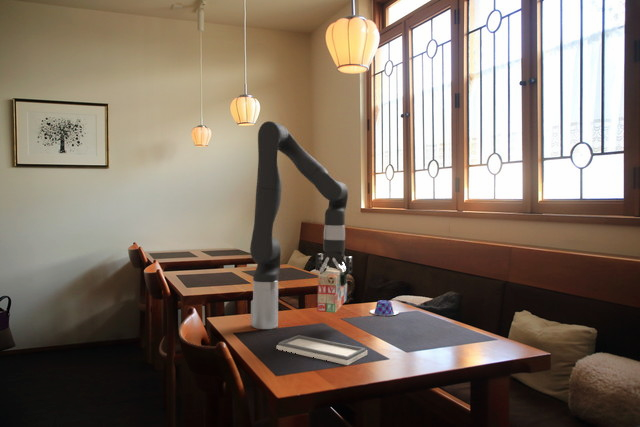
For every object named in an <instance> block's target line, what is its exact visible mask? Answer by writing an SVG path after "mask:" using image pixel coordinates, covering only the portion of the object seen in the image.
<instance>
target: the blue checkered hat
mask: <svg viewBox="0 0 640 427" xmlns="http://www.w3.org/2000/svg"><path fill="white" fill-rule="evenodd" d="M369 313H370V314H373V315H377V316H382V317H383V316H385V317H386V316H387V317H389V316H396V315H398V314H399V311H398V310H395V309H394V308H393V304H392V302H391V301H390V300H386V299H385V300H378V301H377V302H376V305H375V308H374V309H370V310H369Z"/></svg>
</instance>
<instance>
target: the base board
mask: <svg viewBox="0 0 640 427" xmlns="http://www.w3.org/2000/svg"><path fill="white" fill-rule="evenodd" d="M277 349H278V351H282V350H283V352H286V351H287V353H291V352H292V353H291V354H295V353H296V355H301V356H305V357H309V358H313V357H314V359H318V360H323V361H326V360H327V361H328V362H332V363H337V364H339V365H344V366H349V365H350V364H352V363H354V362H356V361H358V360H360V359H361V358H364V357H365V356H367V355H368V353H369V352H368V350H367V348H365V347H361V346H356V345H350V344H346V343H340V342H335V341H331V340H325V339H320V338H315V337H309V336H306V335H299V334H298V335H295V336H293V337H290V338H287V339H284V340H282V341H279V342H278V344H277V345H276V350H277Z"/></svg>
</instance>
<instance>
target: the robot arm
mask: <svg viewBox="0 0 640 427" xmlns="http://www.w3.org/2000/svg"><path fill="white" fill-rule="evenodd" d="M257 149H258V153H257V154H258V157H257V158H258V160H257V161H258V163H257V176H256V177H257V178H256V187H255V188H256V190H255V202H254V203H255V207H254V221H253V222H254V223H253V230H252V235H251V240H250V248H249V252H250V256H251V258H252V259H253V261H254V262H256V268H255V270H254V272H253V275H252V277H253V278H252V284H253V285H252V289H253V290H252V293H253V294H252V300H251V301H250V327H253V328H255V329H257V330H272V329H276V328H277V327H278V326H279V324H278V323H279V275H280V273H281V272H280V271H281V256H282V255H281V253H282V252H281V250H282V249H281V245H280V243H279V241H278V240H277V239H276V238H275V237H273V230H274V223H275V220H276V217H277V215H278V212H279V209H280V205H281V201H282V200H281V199H282V185H283V184H282V179H281V174H280V170H279V167H278V152H281V153H282V154H284V155H285V156H286V157H287V158H288V159H289V160H290V161H291V162H292V163H293V164H294V166H295V168H296V169H297V170H298V172H299V173H300V174H301V175H303V177H305V178H306V179H307V181H309V182H310V183H311V184H312V185H314V187H315V189H317V191H318V192H319V193H320V194H321V196H323V198H325V199H326V200H328V207H327V209H326V210H325V212H324V228H323V243H322V244H323V253H322V252H321V253H316V254H315V271H318V272H319V273H320V274H322V273H323V272H324V271H326V270H329V268H330V267H332V268H336V269H337V271H340V273H341V286H345V284H346V283H347V284H348V275H351V274H352V273H353V256H351V255H350V256H345V252H346V251H345V249H346V226H345V225H346V224H345V221H346V215H345V213H346V208H347V204H348V196H349V192H348V187H347V185H346V184H345V183H344V182H342V181H337V180H335V179H334V178H333V177H332V176H331V175H330V174H329V171H328V170H327V169H326V168H325V167H324V166H323V165H322V164H321V163H320V162H318V160H316V159H315V158H314V157H313V156H312V155H311V154H309V152H307V151H306V150H305V149H304V148H303V146H301V145H300V144H299V143H298V142H297V141H296V139H295V138H294V137H293V135H292V134H291V133H290V131H289V130H288V129H287V128H286V127H285V126H284V125H282V124H280V123H278V122H274V121H269V120H268V121H265V122H264V123H262V124H261V125H260V127H259V129H258V133H257ZM323 260H324V262H323ZM344 262H345V263H344ZM320 274H319V275H320Z"/></svg>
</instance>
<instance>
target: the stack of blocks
mask: <svg viewBox="0 0 640 427" xmlns="http://www.w3.org/2000/svg"><path fill="white" fill-rule="evenodd" d="M317 284H318V285H317V304H316V306H317V307H316V311H317V312H319V313H322V312H323V313H331V314H332V313H333V314H334V313H336V312H337V311H339V309H340V308H341V306H343V304H345V302H346V301H347V300H348V297H347V296H348V295H347V294H348V282H347V283H346V284H345V286H341V273H340V271H339V270H329V269H327V270H326V271H324V272H323V273H322V274H318V276H317Z"/></svg>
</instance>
